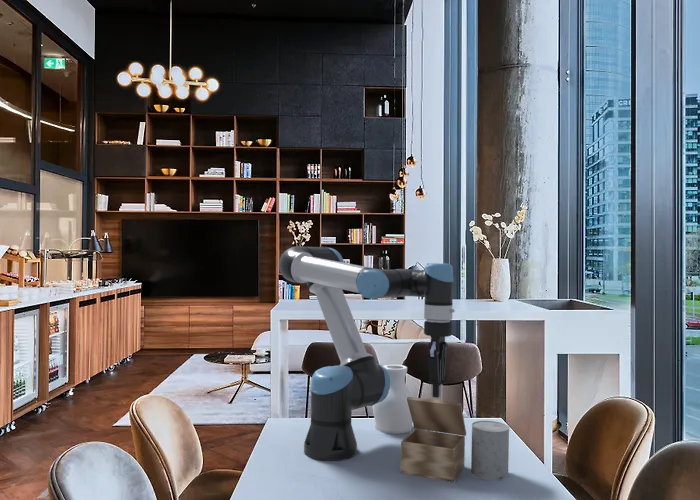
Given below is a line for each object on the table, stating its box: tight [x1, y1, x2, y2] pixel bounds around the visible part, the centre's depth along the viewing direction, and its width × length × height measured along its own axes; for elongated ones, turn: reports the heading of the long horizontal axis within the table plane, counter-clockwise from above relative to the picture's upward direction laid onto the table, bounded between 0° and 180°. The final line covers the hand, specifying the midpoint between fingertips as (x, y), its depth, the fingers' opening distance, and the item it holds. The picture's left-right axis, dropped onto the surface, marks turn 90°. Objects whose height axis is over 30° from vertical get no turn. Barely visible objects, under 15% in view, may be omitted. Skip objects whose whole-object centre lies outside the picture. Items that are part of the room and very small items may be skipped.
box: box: [400, 428, 466, 483], centre depth 147 cm, size 14×12×8 cm
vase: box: [372, 364, 416, 435], centre depth 182 cm, size 14×14×20 cm
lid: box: [407, 397, 467, 437], centre depth 149 cm, size 14×12×1 cm
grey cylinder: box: [470, 420, 510, 482], centre depth 145 cm, size 10×10×12 cm
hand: (436, 408), depth 149 cm, fingers closed
